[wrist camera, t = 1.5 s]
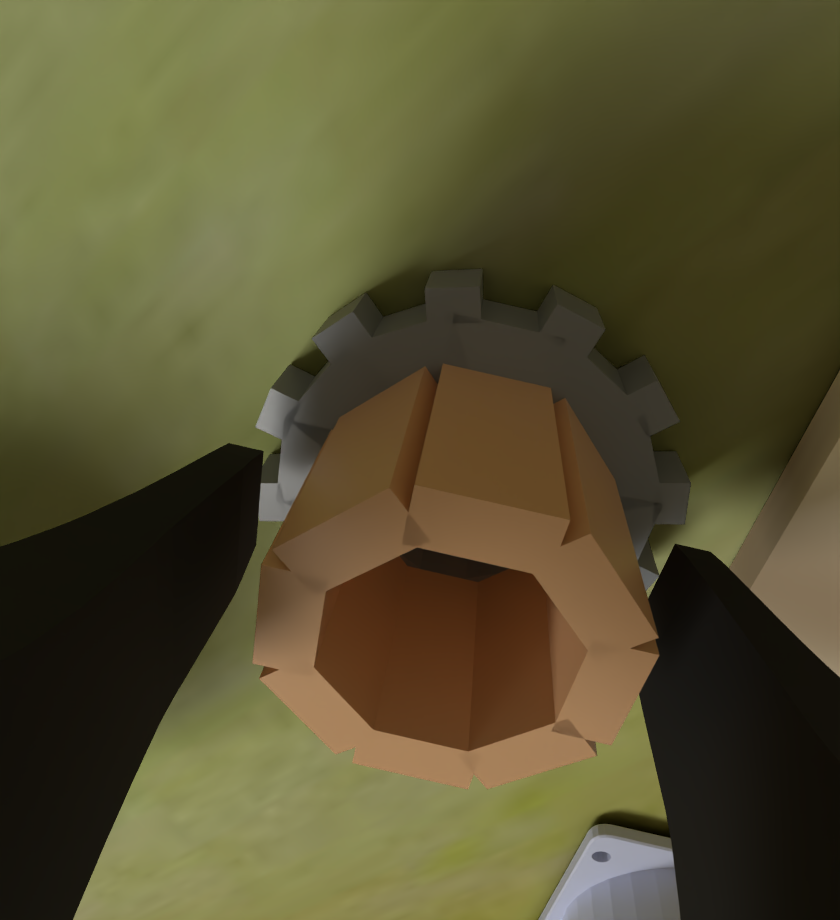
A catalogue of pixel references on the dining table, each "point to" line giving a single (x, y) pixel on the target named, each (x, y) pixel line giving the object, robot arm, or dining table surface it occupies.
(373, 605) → the planet gear
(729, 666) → the robot arm
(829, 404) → the carrier
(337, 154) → the dining table surface
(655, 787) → the dining table surface
